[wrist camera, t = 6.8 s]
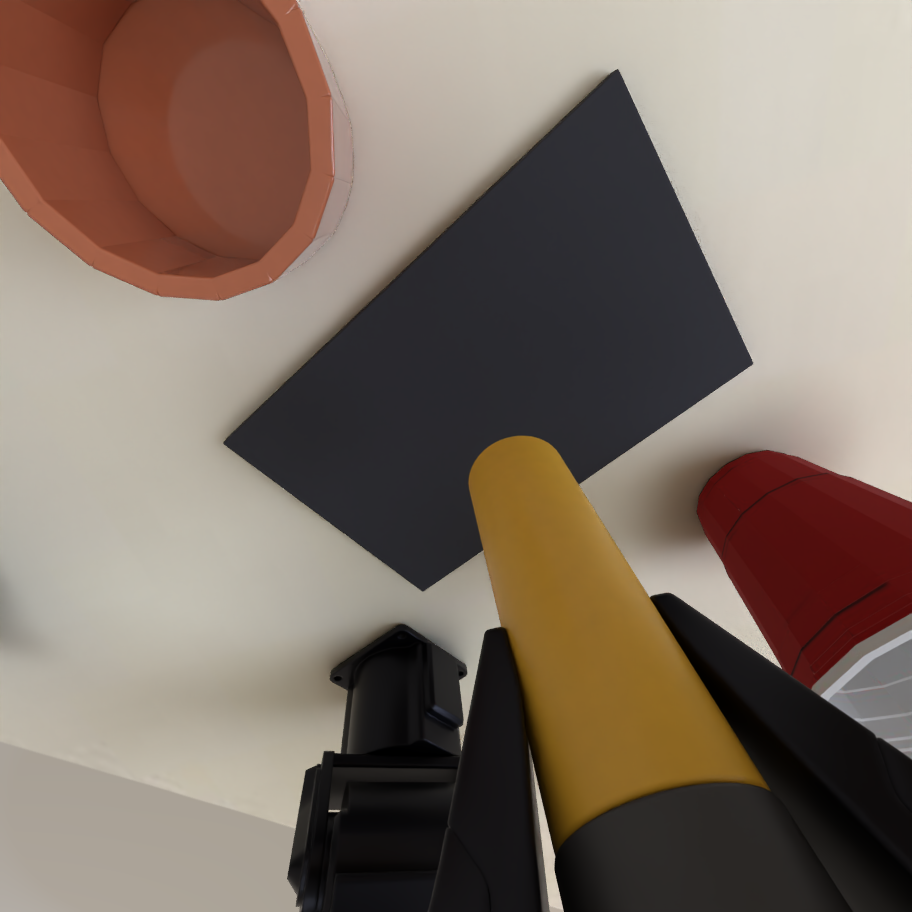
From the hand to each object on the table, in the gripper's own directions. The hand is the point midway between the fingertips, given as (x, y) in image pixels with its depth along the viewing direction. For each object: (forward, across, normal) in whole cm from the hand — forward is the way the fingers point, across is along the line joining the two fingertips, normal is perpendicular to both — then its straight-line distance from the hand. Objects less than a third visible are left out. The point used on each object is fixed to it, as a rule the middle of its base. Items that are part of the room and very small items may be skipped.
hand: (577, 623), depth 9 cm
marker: (+6, 0, 0) cm, 6 cm away
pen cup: (+12, +7, -10) cm, 18 cm away
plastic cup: (+13, -13, +9) cm, 21 cm away
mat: (+12, 0, 0) cm, 12 cm away
